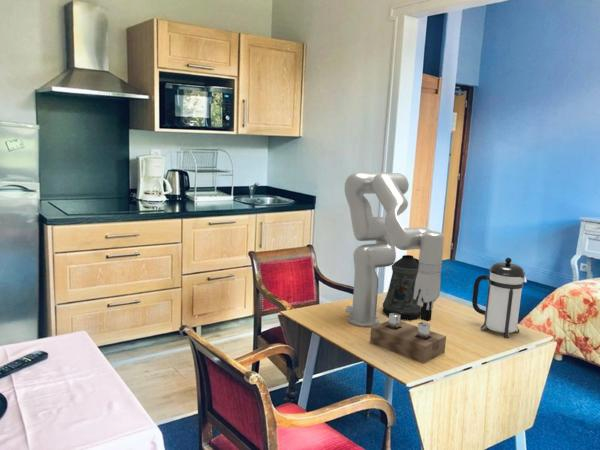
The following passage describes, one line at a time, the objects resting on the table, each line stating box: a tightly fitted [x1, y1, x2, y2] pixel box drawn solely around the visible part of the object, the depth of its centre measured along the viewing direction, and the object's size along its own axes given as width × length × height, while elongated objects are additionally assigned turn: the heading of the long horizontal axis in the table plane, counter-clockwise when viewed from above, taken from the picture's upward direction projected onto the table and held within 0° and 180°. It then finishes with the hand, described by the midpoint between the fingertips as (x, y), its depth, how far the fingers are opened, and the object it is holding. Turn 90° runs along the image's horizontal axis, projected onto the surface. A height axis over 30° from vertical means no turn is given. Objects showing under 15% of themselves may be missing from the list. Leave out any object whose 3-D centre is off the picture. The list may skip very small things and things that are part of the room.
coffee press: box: [471, 257, 527, 339], centre depth 201 cm, size 17×16×30 cm
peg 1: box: [388, 313, 401, 330], centre depth 185 cm, size 4×4×6 cm
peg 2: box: [417, 321, 431, 340], centre depth 177 cm, size 4×4×6 cm
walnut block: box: [369, 320, 447, 365], centre depth 181 cm, size 22×14×6 cm, turn 46°
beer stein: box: [382, 254, 421, 321], centre depth 217 cm, size 16×19×25 cm
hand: (425, 319), depth 175 cm, fingers closed
